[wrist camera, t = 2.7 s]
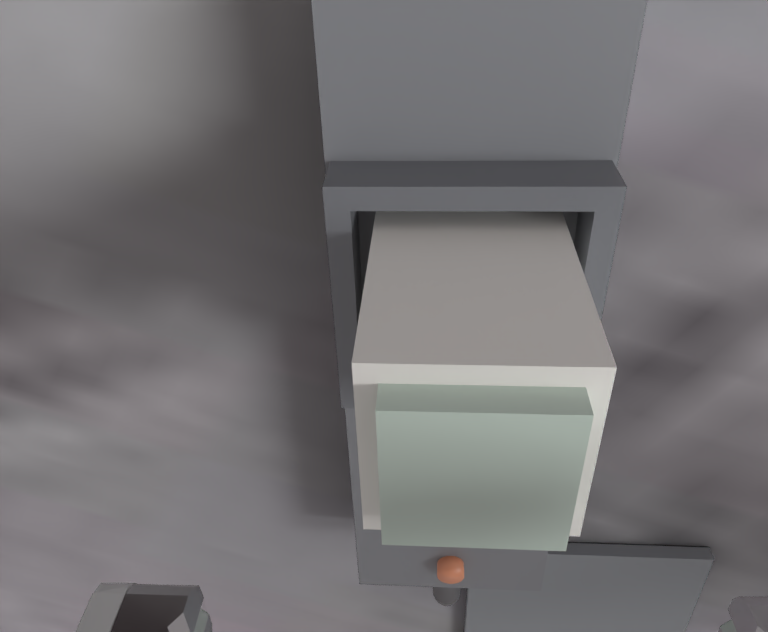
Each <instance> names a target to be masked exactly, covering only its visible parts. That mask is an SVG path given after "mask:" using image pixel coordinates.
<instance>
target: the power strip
mask: <svg viewBox="0 0 768 632" xmlns="http://www.w3.org/2000/svg"><path fill="white" fill-rule="evenodd" d="M311 4H312V16H313V28H314V40H315V53H316V65H317V77H318V89H319V101H320V113H321V125H322V137H323V149H324V162H325V174H326V177H325V180H324V183H323V186H322V191H323V203H324V214H325V226H326V237H327V249H328V260H329V272H330V283H331V295H332V306H333V318H334V329H335V341H336V353H337V364H338V376H339V387H340V399H341V408H345V416H346V428H347V440H348V452H349V464H350V476H351V489H352V501H353V513H354V525H355V537H356V549H357V561H358V573H359V584H369V585H395V586H421V587H433V595H434V597H435V599H436V601H437V602H438V603H440V604H441V605H444V606H450V605H453V604H455V603H456V602H457V601H458V599H459V597H460V593H461V588H472V589H498V590H523V591H541V588H542V582H543V577H544V571H545V566H546V560H547V555H548V551H543V550H515V549H486V548H458V547H429V546H400V545H382V538H381V530H371V529H363V517H362V503H361V489H360V475H359V461H358V447H357V433H356V419H355V405H354V391H353V377H352V357H353V351H354V345H355V338H356V332H357V326H358V320H359V313H360V307H361V301H362V295H363V289H364V282H365V276H366V270H367V264H368V257H369V251H370V245H371V239H372V233H373V226H374V220H375V214H376V211H530V212H563V215H564V218H565V221H566V224H567V227H568V230H569V232H570V235H571V238H572V241H573V244H574V247H575V250H576V252H577V255H578V258H579V261H580V264H581V267H582V269H583V272H584V275H585V278H586V281H587V284H588V287H589V289H590V292H591V295H592V298H593V301H594V304H595V307H596V309H597V312H598V315H599V318H600V321H601V319H602V314H603V309H604V304H605V298H606V293H607V288H608V283H609V278H610V272H611V267H612V262H613V257H614V252H615V246H616V241H617V236H618V231H619V226H620V220H621V215H622V210H623V205H624V200H625V194H626V189H627V186H626V184H625V182H624V180H623V179H622V177H621V175H620V173H619V172H618V170H617V166H618V161H619V155H620V150H621V144H622V139H623V133H624V127H625V122H626V116H627V111H628V105H629V100H630V94H631V89H632V83H633V77H634V72H635V66H636V61H637V55H638V50H639V44H640V39H641V33H642V28H643V22H644V16H645V11H646V5H647V0H311Z"/></svg>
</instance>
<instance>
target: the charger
mask: <svg viewBox="0 0 768 632" xmlns="http://www.w3.org/2000/svg"><path fill="white" fill-rule="evenodd" d="M616 370H617V366H616V364H615V361H614V358H613V355H612V352H611V349H610V346H609V344H608V341H607V338H606V335H605V332H604V329H603V326H602V324H601V321H600V318H599V315H598V312H597V309H596V307H595V304H594V301H593V298H592V295H591V292H590V289H589V287H588V284H587V281H586V278H585V275H584V272H583V269H582V267H581V264H580V261H579V258H578V255H577V252H576V250H575V247H574V244H573V241H572V238H571V235H570V232H569V230H568V227H567V224H566V221H565V218H564V215H563V212H530V211H376V214H375V220H374V226H373V233H372V239H371V245H370V251H369V257H368V264H367V270H366V276H365V282H364V289H363V295H362V301H361V307H360V313H359V320H358V326H357V332H356V338H355V345H354V351H353V357H352V377H353V391H354V405H355V419H356V433H357V447H358V461H359V475H360V489H361V503H362V517H363V529H371V530H381V538H382V545H400V546H429V547H458V548H486V549H515V550H543V551H566V549H567V544H568V539H569V536H580V534H581V529H582V525H583V520H584V516H585V511H586V506H587V502H588V497H589V493H590V488H591V484H592V479H593V474H594V470H595V465H596V461H597V456H598V452H599V447H600V443H601V438H602V433H603V429H604V424H605V420H606V415H607V411H608V406H609V402H610V397H611V392H612V388H613V383H614V379H615V374H616Z"/></svg>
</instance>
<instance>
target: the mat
mask: <svg viewBox="0 0 768 632" xmlns="http://www.w3.org/2000/svg"><path fill="white" fill-rule="evenodd" d="M713 562H714V558H713V555H712V553H711V550H710V548H708V547H679V546H650V545H620V544H591V543H568V544H567V549H566V551H548V555H547V560H546V566H545V571H544V577H543V582H542V588H541V591H523V590H498V589H472V588H467V597H466V611H465V625H464V632H685V630H686V627H687V625H688V622H689V620H690V618H691V615H692V613H693V610H694V608H695V606H696V603H697V601H698V598H699V596H700V593H701V591H702V589H703V586H704V584H705V581H706V579H707V577H708V574H709V572H710V569H711V567H712V564H713Z"/></svg>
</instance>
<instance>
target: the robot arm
mask: <svg viewBox="0 0 768 632" xmlns="http://www.w3.org/2000/svg"><path fill="white" fill-rule="evenodd" d="M203 598H204V597H203V595H202V592H201V589H200V587H199V585H158V584H136V583H101V584H100V585H99V587H98V588H97V589H96V590H95V592H94V593H93V594H92V596H91V598H90V601H89V603H88V605H87V607H86V610H85V612H84V614H83V616H82V619H81V621H80V623H79V625H78V628H77V630H76V632H212V623H211V620H210V616H209V614H208V613H207V612H205V611H204V610H202V609H201V605H202V602H203ZM728 611H729V614H730V616H731V619H732V620H730V621H728V622H727V623H725V624H723V625H721V626H720V628H719V631H718V632H768V597H737V598H735V599H733V600H732V602H731V604H730V606H729V608H728Z"/></svg>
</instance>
